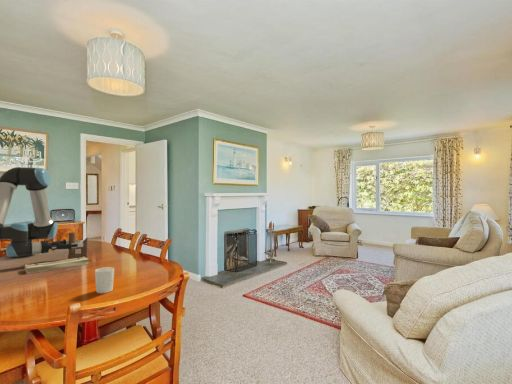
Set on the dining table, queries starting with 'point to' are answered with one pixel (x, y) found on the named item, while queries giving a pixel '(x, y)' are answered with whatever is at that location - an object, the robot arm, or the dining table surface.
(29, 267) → the maple board
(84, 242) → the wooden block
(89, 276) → the dining table surface
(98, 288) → the white cup
